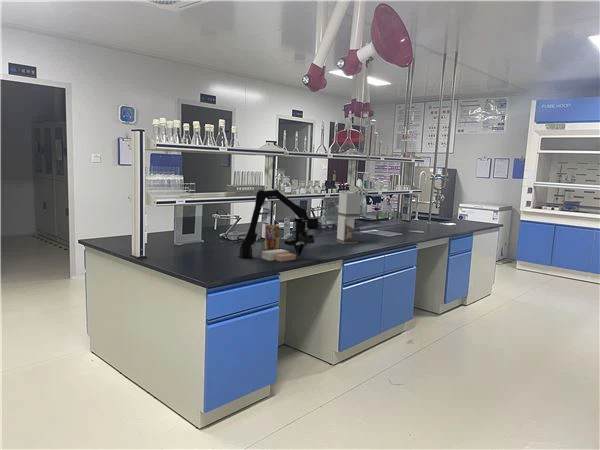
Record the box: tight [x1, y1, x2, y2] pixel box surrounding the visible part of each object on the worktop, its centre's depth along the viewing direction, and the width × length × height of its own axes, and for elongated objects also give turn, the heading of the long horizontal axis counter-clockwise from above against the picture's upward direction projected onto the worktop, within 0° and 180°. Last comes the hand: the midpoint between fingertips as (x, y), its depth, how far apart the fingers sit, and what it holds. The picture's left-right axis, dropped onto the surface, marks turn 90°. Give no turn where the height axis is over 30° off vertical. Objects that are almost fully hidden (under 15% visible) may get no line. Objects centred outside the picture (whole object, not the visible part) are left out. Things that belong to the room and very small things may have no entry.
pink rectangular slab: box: [274, 252, 297, 263], centre depth 252 cm, size 11×5×3 cm, turn 132°
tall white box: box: [336, 192, 362, 245], centre depth 319 cm, size 11×11×35 cm
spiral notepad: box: [261, 248, 290, 262], centre depth 257 cm, size 14×8×4 cm, turn 132°
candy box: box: [264, 224, 280, 250], centre depth 284 cm, size 9×4×15 cm, turn 96°
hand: (298, 255), depth 260 cm, fingers closed
